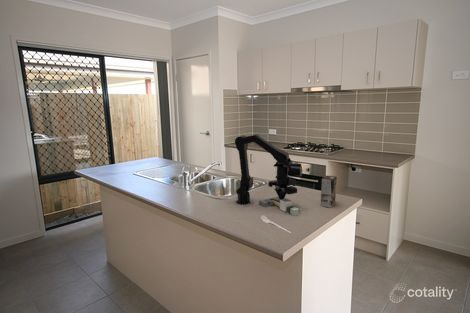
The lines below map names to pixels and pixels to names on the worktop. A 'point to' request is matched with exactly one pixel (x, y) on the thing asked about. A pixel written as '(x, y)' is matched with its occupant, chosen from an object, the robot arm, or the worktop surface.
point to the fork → (273, 223)
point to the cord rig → (276, 201)
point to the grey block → (285, 204)
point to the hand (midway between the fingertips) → (281, 201)
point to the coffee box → (328, 191)
